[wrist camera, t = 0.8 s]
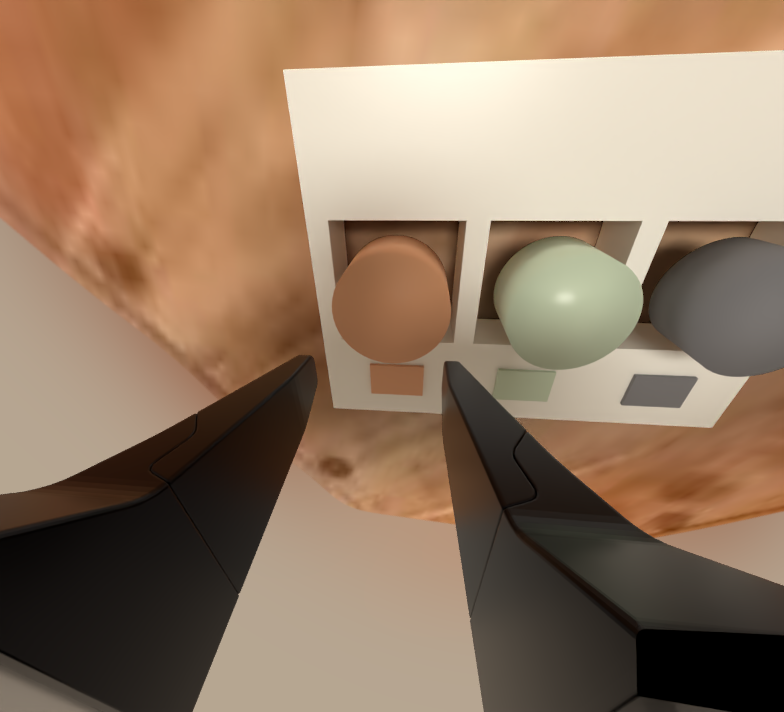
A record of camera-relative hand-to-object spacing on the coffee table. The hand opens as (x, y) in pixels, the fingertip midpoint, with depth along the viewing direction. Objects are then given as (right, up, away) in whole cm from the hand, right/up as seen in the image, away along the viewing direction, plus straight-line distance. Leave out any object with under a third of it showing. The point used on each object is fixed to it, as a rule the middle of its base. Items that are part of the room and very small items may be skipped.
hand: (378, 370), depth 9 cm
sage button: (+8, +4, +5) cm, 10 cm away
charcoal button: (+15, +3, +5) cm, 16 cm away
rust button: (+1, +4, +6) cm, 7 cm away
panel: (+8, +5, +8) cm, 12 cm away
